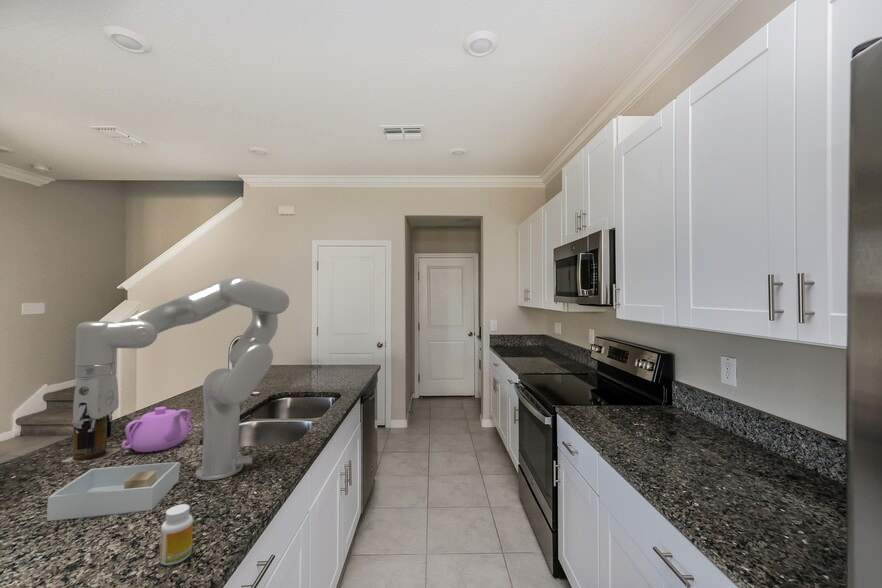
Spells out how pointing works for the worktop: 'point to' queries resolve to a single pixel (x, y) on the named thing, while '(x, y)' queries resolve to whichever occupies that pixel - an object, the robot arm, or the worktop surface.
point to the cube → (140, 480)
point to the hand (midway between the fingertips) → (94, 442)
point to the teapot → (157, 430)
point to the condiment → (100, 443)
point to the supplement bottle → (176, 535)
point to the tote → (111, 492)
